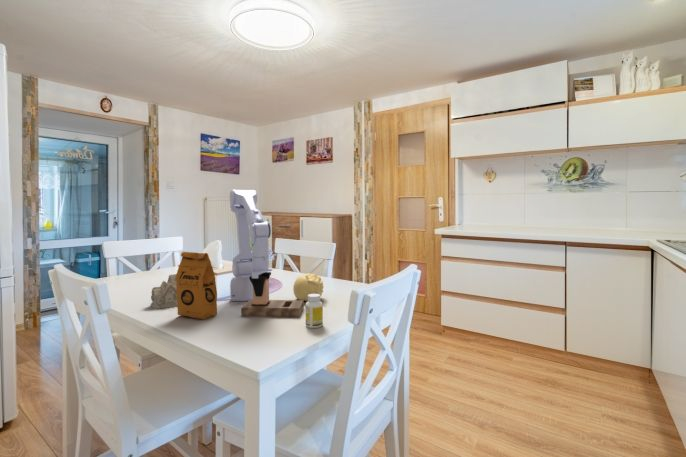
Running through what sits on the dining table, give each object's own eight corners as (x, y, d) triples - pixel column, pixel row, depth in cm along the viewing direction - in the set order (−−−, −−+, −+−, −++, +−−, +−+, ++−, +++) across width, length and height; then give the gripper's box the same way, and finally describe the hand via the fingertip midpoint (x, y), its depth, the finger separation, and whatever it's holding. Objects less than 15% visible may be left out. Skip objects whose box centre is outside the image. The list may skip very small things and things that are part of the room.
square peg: (253, 304, 124) (252, 281, 123) (256, 300, 128) (256, 278, 127) (265, 304, 123) (265, 281, 123) (269, 300, 128) (268, 279, 127)
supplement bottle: (325, 323, 114) (325, 293, 113) (318, 329, 109) (318, 298, 108) (309, 321, 116) (309, 292, 115) (302, 327, 111) (302, 296, 110)
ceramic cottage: (189, 293, 150) (186, 259, 148) (198, 304, 137) (194, 266, 134) (147, 301, 141) (143, 265, 139) (152, 314, 128) (148, 273, 126)
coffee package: (200, 322, 115) (198, 255, 113) (172, 317, 120) (170, 252, 118) (222, 313, 124) (221, 251, 122) (196, 309, 129) (194, 249, 127)
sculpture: (322, 303, 137) (322, 276, 136) (291, 303, 137) (291, 276, 136) (324, 296, 148) (324, 270, 147) (295, 295, 148) (295, 270, 147)
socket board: (241, 316, 121) (241, 307, 121) (249, 307, 131) (249, 299, 131) (299, 317, 120) (299, 308, 120) (303, 308, 130) (303, 300, 130)
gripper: (266, 259, 117) (266, 300, 118) (276, 253, 132) (276, 289, 133) (245, 259, 117) (246, 299, 118) (257, 253, 132) (257, 289, 133)
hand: (260, 294), depth 126 cm, fingers closed on square peg, 4 cm apart
